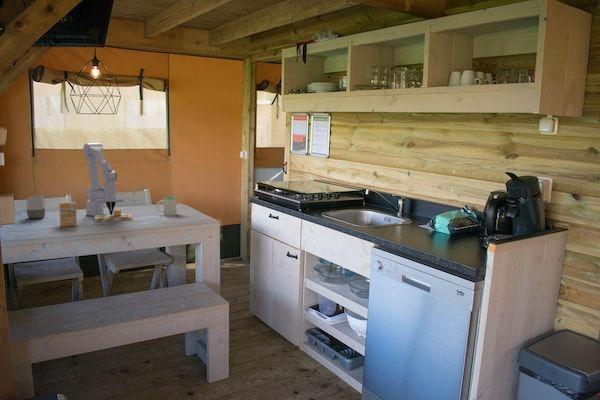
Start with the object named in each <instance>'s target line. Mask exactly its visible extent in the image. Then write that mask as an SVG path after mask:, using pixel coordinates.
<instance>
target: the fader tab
mask: <svg viewBox="0 0 600 400" xmlns="http://www.w3.org/2000/svg"><path fill="white" fill-rule="evenodd" d="M113 214H114V216H118V215H121V214H122V209H121V208H120V209H119V208H117V209H113Z"/></svg>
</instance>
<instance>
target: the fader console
mask: <svg viewBox="0 0 600 400" xmlns="http://www.w3.org/2000/svg"><path fill="white" fill-rule="evenodd" d="M132 219H133V218H132V214H131V213H121V215H118V216H114V213H113V215H110V214H105V215H95V216H94V222H95V223H99V222H101V221H102V222H118V221H132ZM102 222H101V223H102Z"/></svg>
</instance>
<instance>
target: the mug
mask: <svg viewBox="0 0 600 400" xmlns="http://www.w3.org/2000/svg"><path fill="white" fill-rule="evenodd" d="M160 203H162V210H160V209H159V204H160ZM156 208H157V211H159V212H160V213H161V212H162V213H163V216H176V215H177V214H178V213H177V212H178V211H177V197H173V196H168V197H167V196H166V197H163V198H162V200H159V201H158V202H157V203H156Z"/></svg>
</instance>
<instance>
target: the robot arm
mask: <svg viewBox="0 0 600 400" xmlns="http://www.w3.org/2000/svg"><path fill="white" fill-rule="evenodd" d="M103 152H104V145H103V143H101V142H97V143H95V142H93V143H92V142H91V143H90V142H89V143H87V142H86V143H84V145H83V155H84V158H85V159H87V167H88V171H89V172H88V173H89V178H90V185H89V186H88V187H87V189H86V198H87V201H86V203H85V209H86V211H85V212H86V214H85V216H93V217H95V215H108V213H107V212H104V210H105V209H104V204H106V207H107V209H108V211H109V215H113V214H114V208H115V206H116V205H117V204H116V203H125V199H124V198H117V197H116V193H117V192H116V181H117V180H118V176H117V172H116V170H114V169H112V166H111V164H110V162H108V161H106V158H105V155H104V153H103ZM97 161H98V162H99V165H98V164H97V163H98V162H97ZM98 166H99V169H100V171H101V173H102V181H103V184H104V186H103V185H102V184H100V177H99V170H98Z"/></svg>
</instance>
